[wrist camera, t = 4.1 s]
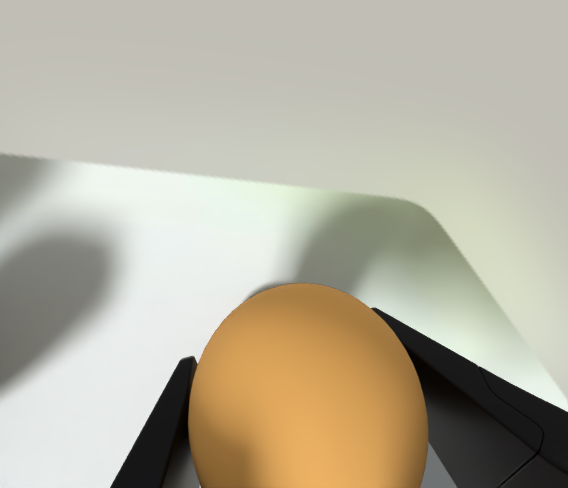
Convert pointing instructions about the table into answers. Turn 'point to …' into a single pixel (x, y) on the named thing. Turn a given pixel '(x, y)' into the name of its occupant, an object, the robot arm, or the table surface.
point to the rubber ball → (306, 397)
